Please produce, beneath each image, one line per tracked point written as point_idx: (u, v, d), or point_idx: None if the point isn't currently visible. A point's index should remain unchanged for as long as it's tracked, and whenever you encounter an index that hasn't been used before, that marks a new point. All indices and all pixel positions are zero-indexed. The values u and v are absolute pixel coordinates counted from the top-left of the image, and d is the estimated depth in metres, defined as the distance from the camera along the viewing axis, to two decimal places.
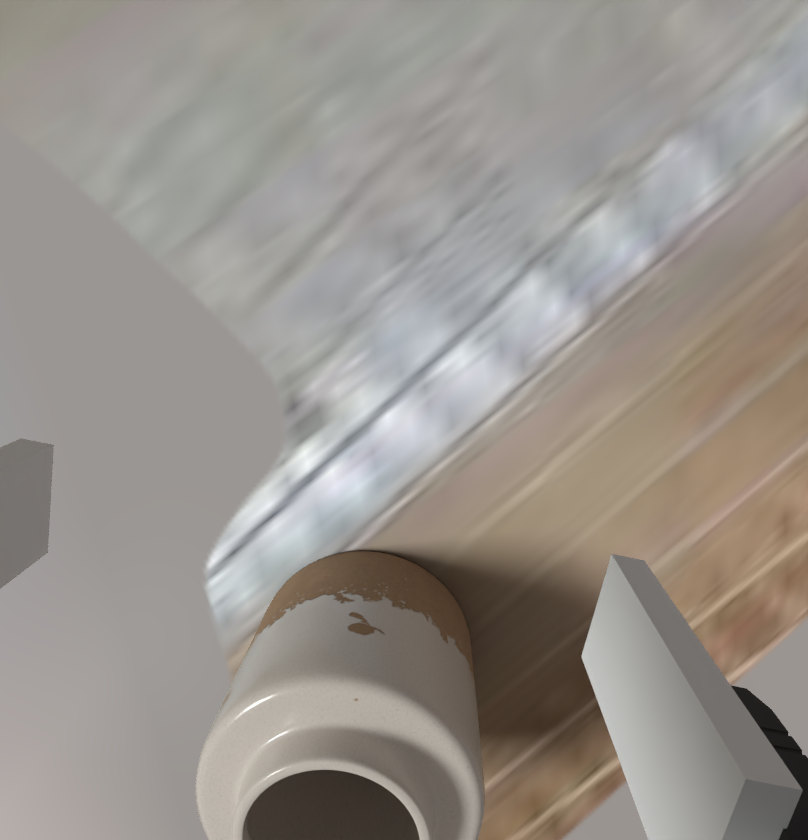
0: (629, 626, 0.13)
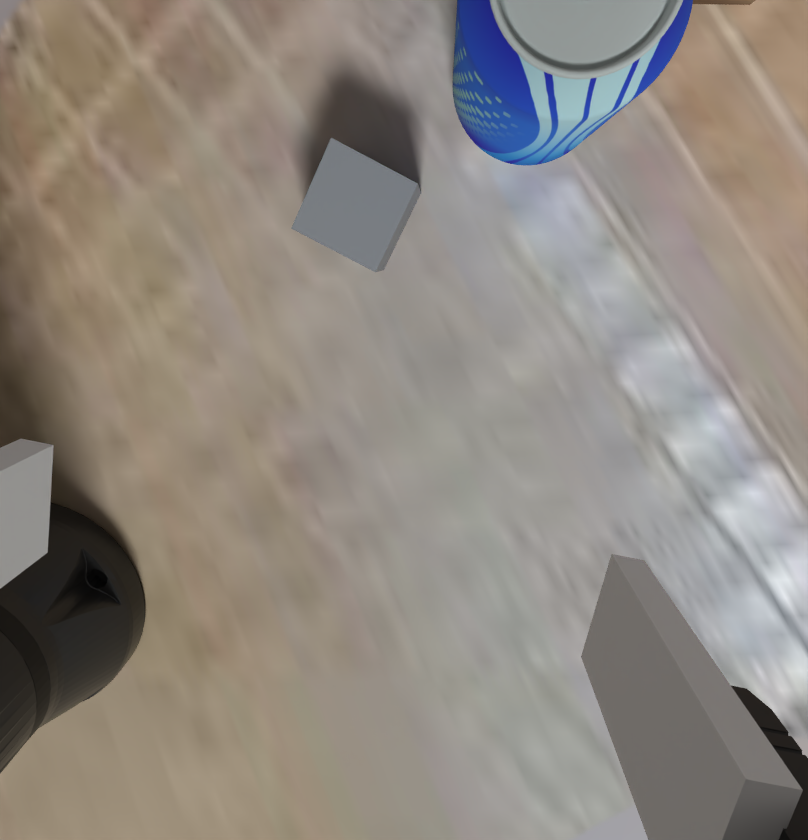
0: (629, 626, 0.13)
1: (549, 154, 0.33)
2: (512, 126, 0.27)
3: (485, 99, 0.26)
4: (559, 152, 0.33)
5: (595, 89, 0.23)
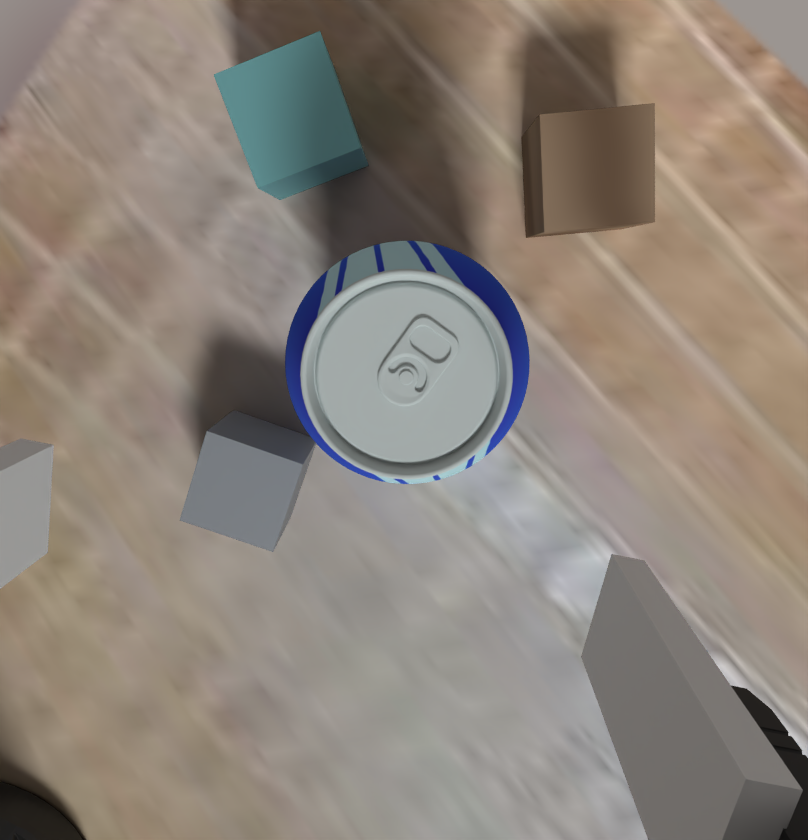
0: (629, 626, 0.13)
1: None
2: None
3: None
4: None
5: None
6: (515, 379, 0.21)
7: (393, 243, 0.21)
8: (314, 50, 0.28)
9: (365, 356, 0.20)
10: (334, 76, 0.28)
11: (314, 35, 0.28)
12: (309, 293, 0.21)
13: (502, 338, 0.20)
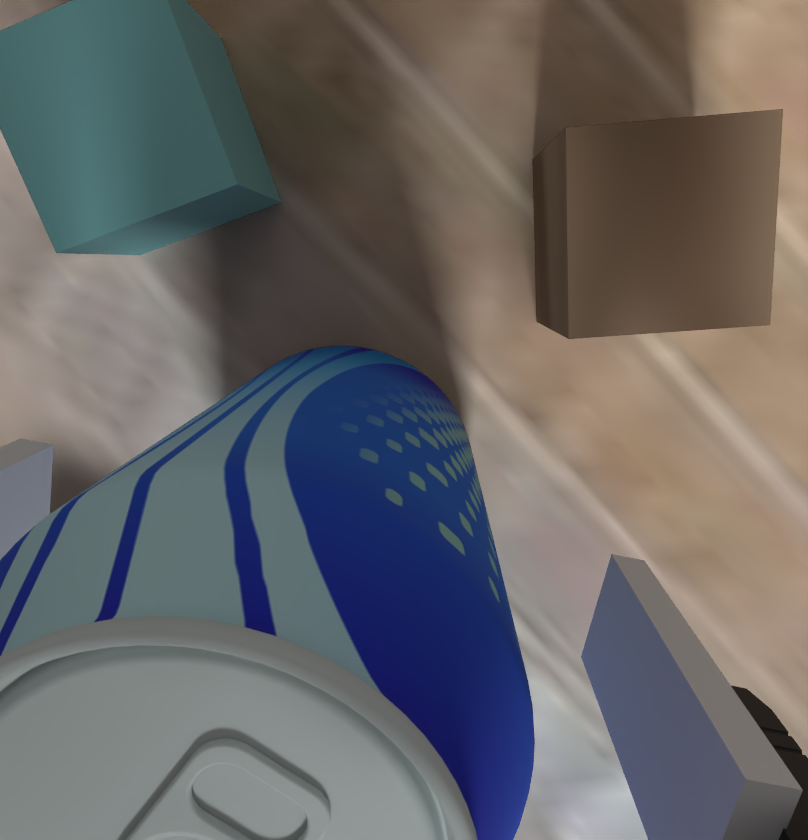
0: (629, 626, 0.13)
1: None
2: None
3: None
4: None
5: None
6: None
7: (186, 476, 0.08)
8: (146, 2, 0.15)
9: (72, 824, 0.07)
10: (184, 52, 0.15)
11: None
12: None
13: (453, 818, 0.07)
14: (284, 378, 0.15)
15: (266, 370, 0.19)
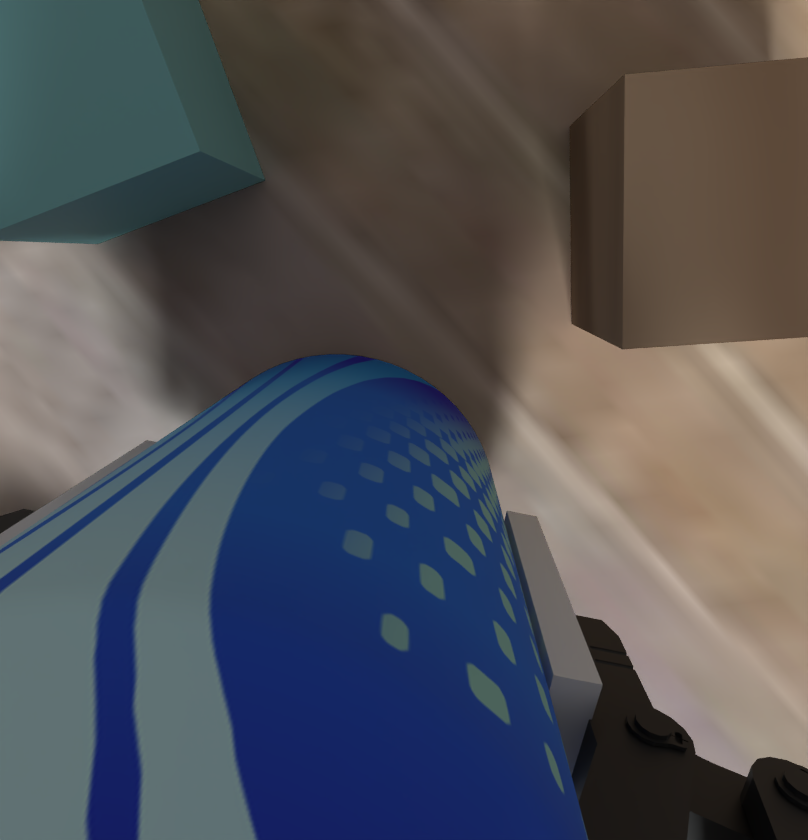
0: None
1: None
2: None
3: None
4: None
5: None
6: None
7: (34, 616, 0.05)
8: None
9: None
10: None
11: None
12: None
13: None
14: (255, 403, 0.11)
15: (243, 385, 0.15)
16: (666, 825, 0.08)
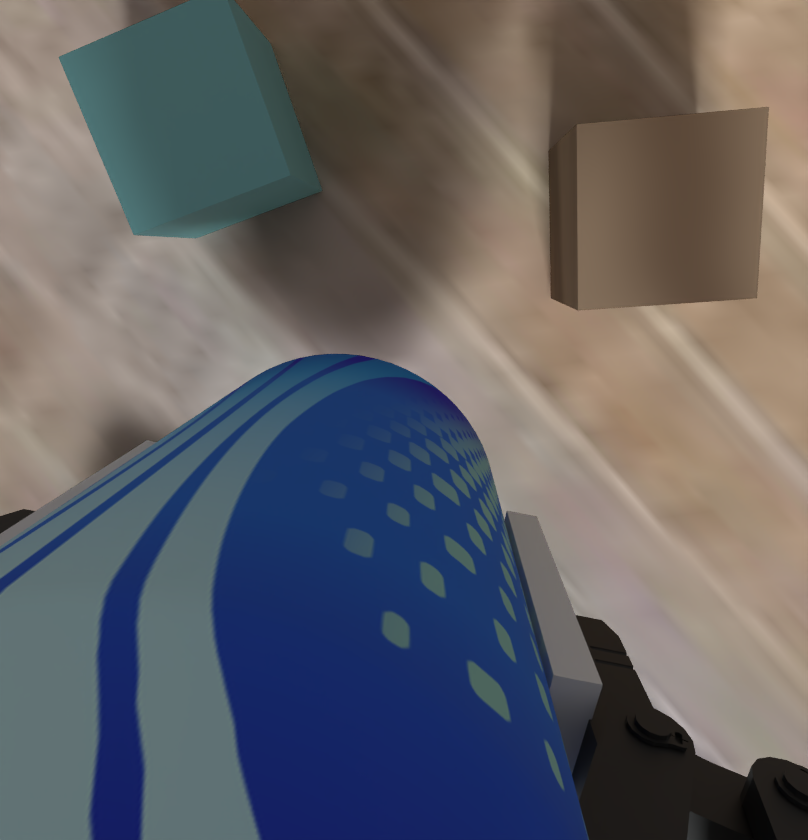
0: None
1: None
2: None
3: None
4: None
5: None
6: None
7: (37, 613, 0.05)
8: (215, 18, 0.17)
9: None
10: (247, 61, 0.18)
11: None
12: None
13: None
14: (256, 402, 0.11)
15: (243, 385, 0.15)
16: (666, 825, 0.08)
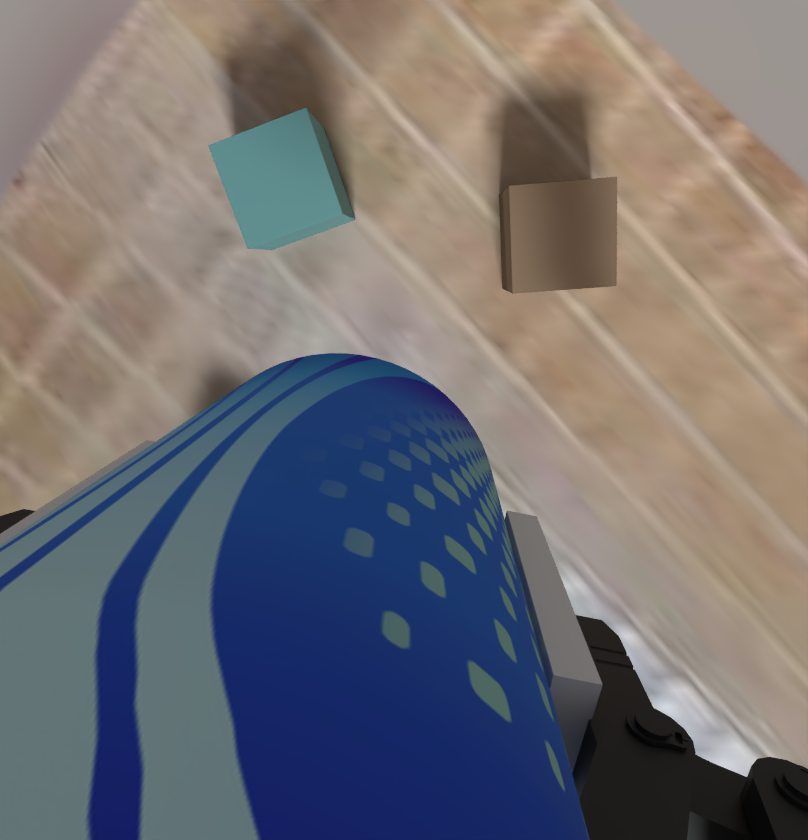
0: None
1: None
2: None
3: None
4: None
5: None
6: None
7: (35, 613, 0.05)
8: (300, 124, 0.30)
9: None
10: (318, 148, 0.30)
11: (300, 111, 0.30)
12: None
13: None
14: (256, 402, 0.11)
15: (243, 384, 0.15)
16: (666, 825, 0.08)
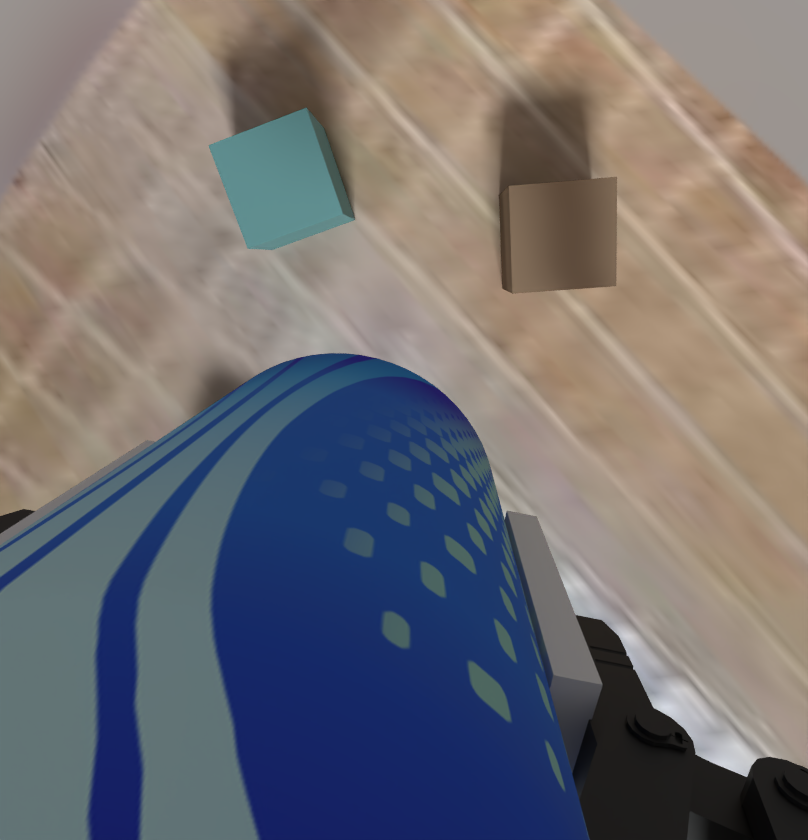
0: None
1: None
2: None
3: None
4: None
5: None
6: None
7: (35, 613, 0.05)
8: (301, 124, 0.30)
9: None
10: (319, 149, 0.30)
11: (301, 111, 0.30)
12: None
13: None
14: (256, 402, 0.11)
15: (243, 384, 0.15)
16: (666, 825, 0.08)
